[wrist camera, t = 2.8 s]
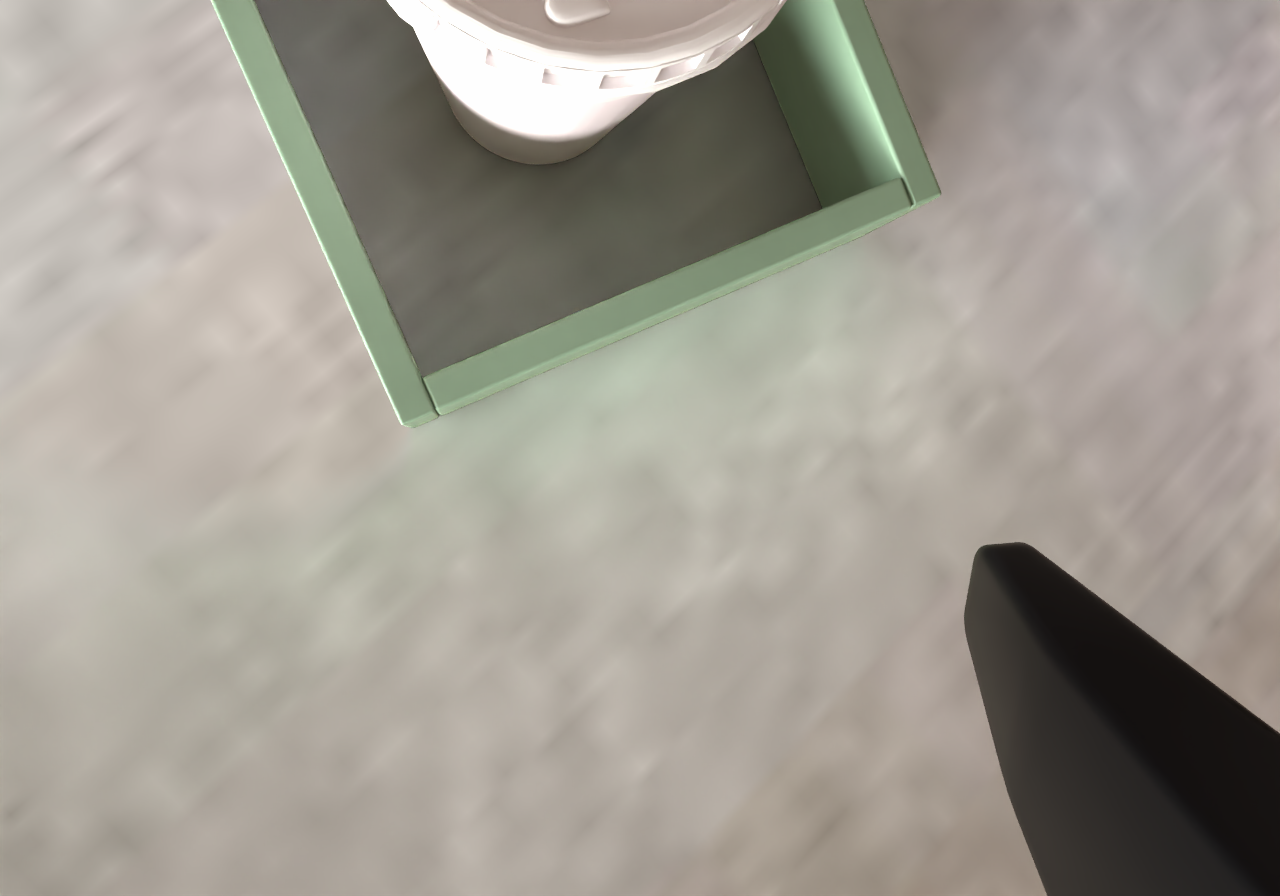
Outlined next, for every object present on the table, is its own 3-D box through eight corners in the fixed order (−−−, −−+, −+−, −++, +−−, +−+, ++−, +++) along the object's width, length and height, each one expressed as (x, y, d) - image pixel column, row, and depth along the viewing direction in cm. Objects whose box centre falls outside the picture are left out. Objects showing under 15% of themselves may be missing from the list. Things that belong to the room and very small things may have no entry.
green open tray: (862, 236, 23) (943, 194, 19) (411, 428, 22) (401, 426, 18) (652, -273, 22) (693, -425, 19) (171, -110, 21) (104, -237, 17)
